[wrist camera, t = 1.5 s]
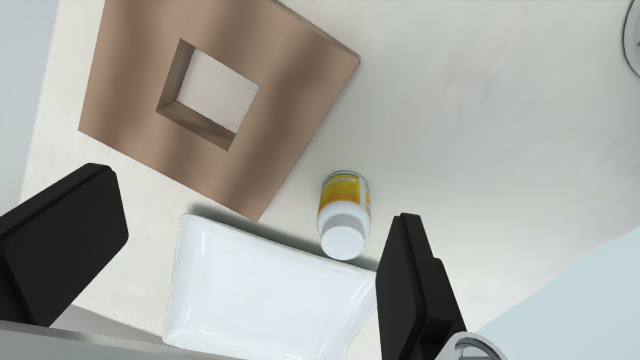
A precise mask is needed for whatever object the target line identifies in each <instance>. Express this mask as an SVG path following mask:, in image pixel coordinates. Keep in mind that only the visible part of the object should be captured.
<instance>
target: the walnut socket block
mask: <svg viewBox="0 0 640 360" xmlns="http://www.w3.org/2000/svg"><path fill="white" fill-rule="evenodd" d="M195 47H196V48H198V49H200V50H201V51H203V52H204V53H206V54H208V55H209V56H211V57H213V58H214V59H216V60H218V61H219V62H221V63H223V64H224V65H226V66H227V67H229V68H231V69H232V70H234V71H236V72H237V73H239V74H241V75H242V76H244V77H245V78H247V79H249V80H250V81H252V82H254V83H255V84H257V85H259V86H260V88H259V90H258V92H257V94H256V96H255V98H254V100H253V102H252V104H251V106H250V108H249V110H248V112H247V114H246V116H245V118H244V120H243V122H242V124H241V126H240V128H239V130H238V132H237V134H234V133H232V132H231V131H229V130H227V129H225V128H224V127H222V126H220V125H218V124H217V123H215V122H213V121H211V120H210V119H208V118H206V117H204V116H202V115H201V114H199V113H197V112H195V111H194V110H192V109H190V108H188V107H187V106H185V105H183V104H181V103H180V102H178V101H176V97H177V95H178V92H179V89H180V87H181V84H182V81H183V78H184V76H185V73H186V70H187V68H188V65H189V62H190V59H191V57H192V54H193V51H194V48H195ZM359 63H360V60H359V55H358V54H356V53H355V52H353V51H352V50H350V49H349V48H347V47H346V46H344V45H343V44H341V43H340V42H338V41H337V40H335V39H334V38H332V37H331V36H330V35H328V34H327V33H325V32H324V31H322V30H321V29H319V28H318V27H316V26H315V25H313V24H312V23H310V22H309V21H307V20H306V19H304V18H303V17H301V16H300V15H298V14H297V13H295V12H294V11H293V10H291V9H290V8H288V7H287V6H285V5H284V4H282V3H281V2H279V1H278V0H105V4H104V9H103V14H102V19H101V23H100V28H99V33H98V37H97V42H96V47H95V52H94V56H93V61H92V66H91V71H90V75H89V80H88V85H87V90H86V94H85V99H84V104H83V109H82V113H81V118H80V123H79V128H78V131H80V132H82V133H84V134H86V135H88V136H90V137H92V138H94V139H96V140H98V141H100V142H102V143H103V144H105V145H107V146H109V147H111V148H113V149H115V150H117V151H119V152H121V153H123V154H125V155H127V156H129V157H131V158H132V159H134V160H136V161H138V162H140V163H142V164H144V165H146V166H148V167H150V168H152V169H154V170H156V171H158V172H160V173H161V174H163V175H165V176H167V177H169V178H171V179H173V180H175V181H177V182H179V183H181V184H183V185H185V186H187V187H189V188H190V189H192V190H194V191H196V192H198V193H200V194H202V195H204V196H206V197H208V198H210V199H212V200H214V201H216V202H218V203H219V204H221V205H223V206H225V207H227V208H229V209H231V210H233V211H235V212H237V213H239V214H241V215H243V216H245V217H247V218H248V219H250V220H252V221H254V222H256V223H257V222H258V221H259V219H260V218H261V216H262V214H263V213H264V211H265V210H266V208H267V207H268V205H269V203H270V202H271V200H272V199H273V197H274V196H275V194H276V193H277V191H278V189H279V188H280V186H281V185H282V183H283V182H284V180H285V178H286V177H287V175H288V174H289V172H290V171H291V169H292V168H293V166H294V164H295V163H296V161H297V160H298V158H299V157H300V155H301V153H302V152H303V150H304V149H305V147H306V146H307V144H308V143H309V141H310V139H311V138H312V136H313V135H314V133H315V132H316V130H317V129H318V127H319V125H320V124H321V122H322V121H323V119H324V118H325V116H326V114H327V113H328V111H329V110H330V108H331V107H332V105H333V104H334V102H335V100H336V99H337V97H338V96H339V94H340V93H341V91H342V89H343V88H344V86H345V85H346V83H347V82H348V80H349V79H350V77H351V75H352V74H353V72H354V71H355V69H356V68H357V66H358V64H359Z"/></svg>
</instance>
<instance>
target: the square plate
mask: <svg viewBox="0 0 640 360" xmlns="http://www.w3.org/2000/svg"><path fill="white" fill-rule="evenodd" d="M376 273H377V272H373V271H370V270H366V269H363V268H360V267H357V266H354V265H350V264H347V263H343V262H340V261H336V260H332V259H329V258H325V257H321V256H317V255H314V254H311V253H308V252H305V251H301V250H298V249H295V248H292V247H289V246H286V245H283V244H280V243H277V242H274V241H271V240H268V239H265V238H262V237H260V236H257V235H254V234H251V233H248V232H246V231H243V230H240V229H238V228H235V227H232V226H229V225H226V224H223V223H220V222H216V221H213V220H210V219H207V218H204V217H201V216H197V215H194V214H189V213H185V214H183V215H182V216H181V218H180V223H179V229H178V235H177V243H176V251H175V260H174V268H173V275H172V283H171V290H170V296H169V302H168V307H167V313H166V318H165V323H164V328H163V335H162V340H163V342H164V343H166V344H169V345H172V346H176V347H179V348H183V349H187V350H193V351H200V352H206V353H212V354H218V355H224V356H230V357H236V358H242V359H248V360H341V358H342V357H343V355H344V354H345V352H346V351H347V349H348V348H349V346H350V345H351V343H352V342H353V340H354V339H355V337H356V336H357V335H358V333H359V332H360V330H361V329H362V327H363V326H364V325H365V323H366V322H367V320H368V319H369V317H370V316H371V315H372V313H373V312H374V310H375V309H376V307H377V298H376V287H375V278H376Z"/></svg>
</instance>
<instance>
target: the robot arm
mask: <svg viewBox="0 0 640 360" xmlns="http://www.w3.org/2000/svg"><path fill="white" fill-rule="evenodd" d="M624 47H625V53H626V57H627V59H628V61H629V63H630V65H631V67H632V68H633V70H634V71H635V72H636V73H637V74H638V75H639V76H640V0H634V2H633V5H632V7H631V9H630V12H629V14H628V18H627V22H626V26H625V33H624ZM128 236H129V234H128V228H127V224H126V219H125V214H124V209H123V204H122V200H121V195H120V190H119V185H118V180H117V175H116V173H115V172H114V171H112V169H111V168H110V167H109V166H107V165H101V164H95V163H87V164H85V165H83V166H82V167H80V168H78V169H77V170H75V171H74V172H72V173H70V174H69V175H67V176H66V177H64V178H62V179H61V180H59V181H57V182H56V183H54V184H53V185H51V186H49V187H48V188H46V189H44V190H43V191H41V192H40V193H38V194H36V195H35V196H33V197H32V198H30V199H28V200H27V201H25V202H23V203H22V204H20V205H19V206H17V207H15V208H14V209H12V210H11V211H9V212H7V213H6V214H4V215H3V216H1V217H0V360H248V359H242V358H236V357H230V356H224V355H218V354H212V353H206V352H200V351H193V350H187V349H181V348H174V347H169V346H162V345H156V344H150V343H143V342H138V341H131V340H125V339H119V338H113V337H106V336H100V335H94V334H87V333H80V332H74V331H67V330H61V329H55V328H49V326H50V325H51V324H52V323H53V322H54V321H55V320H56V319H57V318H58V317H59V316H60V315H61V314H62V313H63V311H64V310H65V309H66V308H67V307H68V306H69V305H70V304H71V303H72V302H73V301H74V300H75V298H76V297H77V296H78V295H79V294H80V293H81V292H82V291H83V290H84V289H85V288H86V287H87V285H88V284H89V283H90V282H91V281H92V280H93V279H94V278H95V277H96V276H97V275H98V273H99V272H100V271H101V270H102V269H103V268H104V267H105V266H106V265H107V264H108V263H109V262H110V260H111V259H112V258H113V257H114V256H115V255H116V254H117V253H118V252H119V251H120V250H121V249H122V247H123V246H124V245H125V244H126V242H127V240H128ZM375 287H376V298H377V309H378V320H379V331H380V342H381V353H382V360H507V358H506V357H505V355H504V354H503V353H502V352H501V350H500V349H499V348H498V347H496V346H495V345H494V344H493V343H492V342H490V341H489V340H488V339H486V338H484V337H482V336H481V335H478V334H475V333H472V332H467V330H466V327H465V324H464V321H463V318H462V315H461V313H460V310H459V307H458V304H457V301H456V299H455V296H454V293H453V290H452V287H451V285H450V282H449V279H448V276H447V273H446V271H445V268H444V265H443V263H442V261H441V260H440V259H439V258H434V257H433V254H432V251H431V248H430V245H429V242H428V239H427V236H426V233H425V230H424V227H423V224H422V221H421V218H420V216H419V215H415V214H409V213H403V212H402V213H401V214H400V216H395V217H394V219H393V222H392V225H391V228H390V231H389V234H388V238H387V241H386V244H385V247H384V250H383V254H382V257H381V260H380V263H379V266H378V270H377V273H376V278H375Z"/></svg>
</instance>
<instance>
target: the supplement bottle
mask: <svg viewBox="0 0 640 360" xmlns="http://www.w3.org/2000/svg"><path fill="white" fill-rule="evenodd" d="M317 229H318V232H319V234H320V236H321V246H322V249H323V251H324V252H325V253H326V254H327V255H328V256H330V257H332V258H334V259H338V260H349V259H353V258H355V257H357V256H358V255H359V254H360V253H361V252H362V251H363V249H364V246H365V239H366V238H367V236H368V235H369V232H370V229H371V214H370V201H369V190H368V186H367V184H366V182H365V180H364V179H363V178H362V177H361V176H359V175H357V174H356V173H352V172H346V171H343V172H337V173H334V174H332V175H331V176H329V177H328V178H327V179H326V181H325V182H324V185H323V188H322V193H321V199H320V204H319V210H318V216H317Z"/></svg>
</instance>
